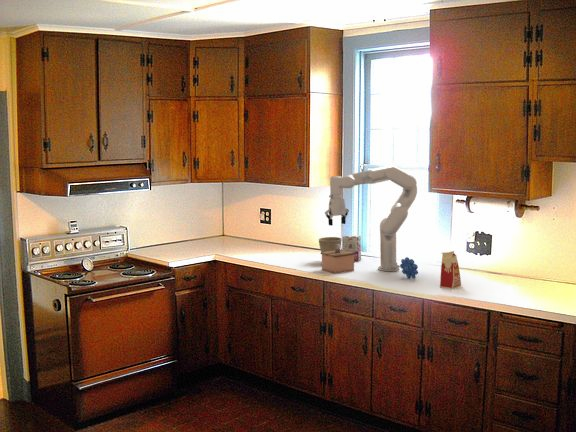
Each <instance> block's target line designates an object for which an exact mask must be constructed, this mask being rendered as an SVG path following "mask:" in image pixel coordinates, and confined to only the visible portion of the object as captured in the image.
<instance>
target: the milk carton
mask: <svg viewBox="0 0 576 432" xmlns="http://www.w3.org/2000/svg"><path fill="white" fill-rule="evenodd" d="M441 254H442V256H441V266H440V276H439V277H440V280H439V281H440V282H439V288H441V289H447V290H452V291H453V290H455V289H458V288H461V287H462V279H461V272H460V265H459V262H458V258H457V257H458V256H457V254H456V253H455V250H453V251H449V252H448V251H447V252H441Z"/></svg>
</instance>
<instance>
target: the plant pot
mask: <svg viewBox="0 0 576 432" xmlns="http://www.w3.org/2000/svg"><path fill="white" fill-rule="evenodd" d="M342 242H343V237H342V238H341V237H337V236H325V237H320V238H318V244H319V249H320V253H321V252H326V251H333V250H335V244H340V249H341V248H342Z"/></svg>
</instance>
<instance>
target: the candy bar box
mask: <svg viewBox="0 0 576 432" xmlns="http://www.w3.org/2000/svg"><path fill="white" fill-rule="evenodd" d="M361 237H362V236H361V235H350V234H349V235H346V234H345V235H343V236H342V250H345V251H349V252H354V253H355V255H354V262H360V261H362V244H361V243H362V241H361V239H362V238H361Z"/></svg>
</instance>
